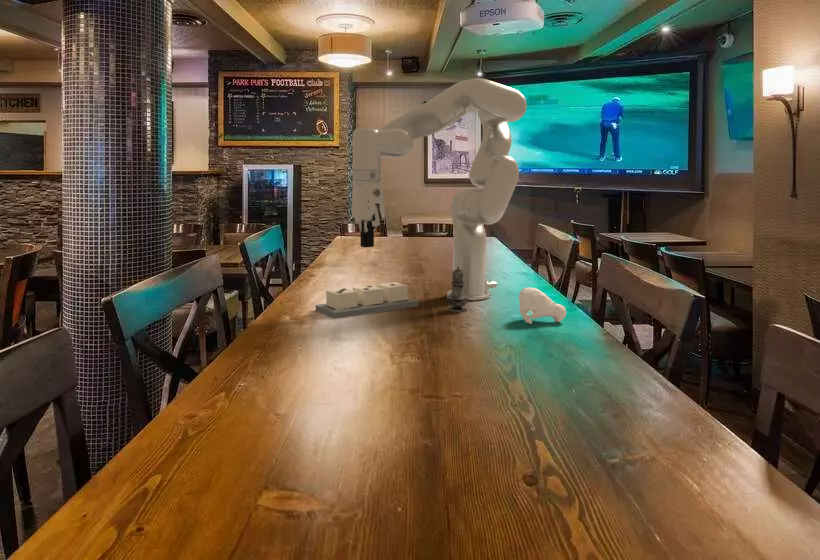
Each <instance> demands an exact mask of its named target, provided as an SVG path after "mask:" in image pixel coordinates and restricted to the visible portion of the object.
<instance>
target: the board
mask: <svg viewBox="0 0 820 560" xmlns="http://www.w3.org/2000/svg"><path fill="white" fill-rule="evenodd" d="M419 302H420V301H419V300H417V299H414V298H410V297H408V300H403V301H396V302H387V301H384V300H383V303H381V304H374V305H367V306H363V305H360V304H357V306H358V307H352V308H345V309H338V310H337V309H334V308H332V307H329V306H327V304H326V303H319V304H314V305H315V311H316V312H317V313H318V312H319V313H320V314H324V315H325V316H328V317H331V318H332V319H341V318H348V317H354V316H355V317H357V316H362V315H363V316H364V315H368V314H376V313H382V312H383V313H384V312H390V311H396V310H402V309H403V310H404V309H409V308H414V307H415V308H416V307H419V305H420V304H419Z"/></svg>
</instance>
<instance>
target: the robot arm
mask: <svg viewBox="0 0 820 560" xmlns="http://www.w3.org/2000/svg"><path fill="white" fill-rule="evenodd" d="M527 106H528V105H527V100H526V97H525V96H524V94H522V93H521V91H519V90H518V89H515V88H514V87H513V88H512V87H510V86H507V85H504V84H501V83H498V82H496V81H492V80H489V79H486V78H481V77H476V78H471V79H464V80H461V81H459V82H456V83H454V84H453V85H452V86H450V87H448V88H446V89H445V90H443V91H442V92H440V93H438V94H437V95H436V96H434V97H433V98H431V99H429V100H428V101H426V102H425V103H423V104H421V105H419V106H418V107H416V108H414V109H412V110H411V111H408V112H407V113H404V114H402V115H401V116H399V117H397V118H395V119H392V121H390V122H389V123H387V124H385V125H384V126H383V127H380V128H379V129H378V128H377V129H376V128H367V127H366V128H355V129H354V130H353V132H352V183H353V185H352V193H351V213H352V214H351V215H352V217H353V218H354V222H355V224H357V225H358V227H359V232H360V233H359V234H360V247H362V248H372V247H375V232H376V227H379V226H380V224H381V222H380V221H384V220H385V217H386V206H385V205H386V204H385V193H384V192H385V191H384V186H383V183H382V159H399V158H404V157H406V156H408V155H409V154H410V153H411V152H412V149H413V145H414V141H415V140H417V139H420V138H423V137H427V136H431V135H434V134H436V133H439V132H442V131H443V130H445V129H446V128H447V127H449V126H450V125H451V124H453V123H454V122H455V123H456V121H458V120H459V119H460V118H462V117H464V116H466V115H467V114H468V113H470V112H477V116H478V118H479V120H480V123H481V126H482V129H483V135H482V140H481V143H480V145H479V148H478V150H477V153H476V155H475V158H474V160H473V161H472V164H471V166H470V170H469V173H468V174H469V175H468V178H469V180H470V182H471V184H472V185H473V186H475V187H477V189H476V188H475V189H473V188H470V189H469V188H467V189H466V188H465V189H462V190H460V191H459V192H457V193H456V194H455V195H454V196H453V198H452V199H451V204H450V215H451V221H452V225H453V226H452V230H453V243H452V244H453V246H452V247H453V248H452V251H453V252H452V272H453V271H454V270H456V269H457V267H459V269H460V270H462V271H463V282H464V283H465V284H464V285H463V292H464V295H465V296H467V297H468V299H467V301H482V300H483V301H484V300H487V299H489V298H490V296H491V295H490V294H491V293H490V292H489V291H488V290H489V289H495V288H497V286H498V285H497V282H496V281H490V282H489V281H488V280H486V255H487V253H486V249H487V234H486V228H485V225H487V226H488V225H489V226H490V225H494V224H495V223H498V222H499V221H500V220H501V219H502V217H503V216H504V214H505V212H506V210H507V207H508V205H509V203H510V201H511V198H512V196H513V194H514V191H515V190H516V186H517V184H518V181H519V178H520V176H519V175H520V174H519V173H520V169H519V165H518V163H517V161H516V160H515V159H514V158H513V157H511V156H510V155H509V154H510V153H509V152H510V150H511V148H512V147H511V146H512V142H513V141H512V140H513V139H512V134H511V130H510V127H509V123H511V122H513V123H514V122H516V121H520V119H521V118H523V117H524V115H525V114H526V111H527ZM478 188H482V189H478ZM451 293H452V289H449V290H447V293H446V295H447V296H449V295H451ZM447 296H446V297H447Z"/></svg>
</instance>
